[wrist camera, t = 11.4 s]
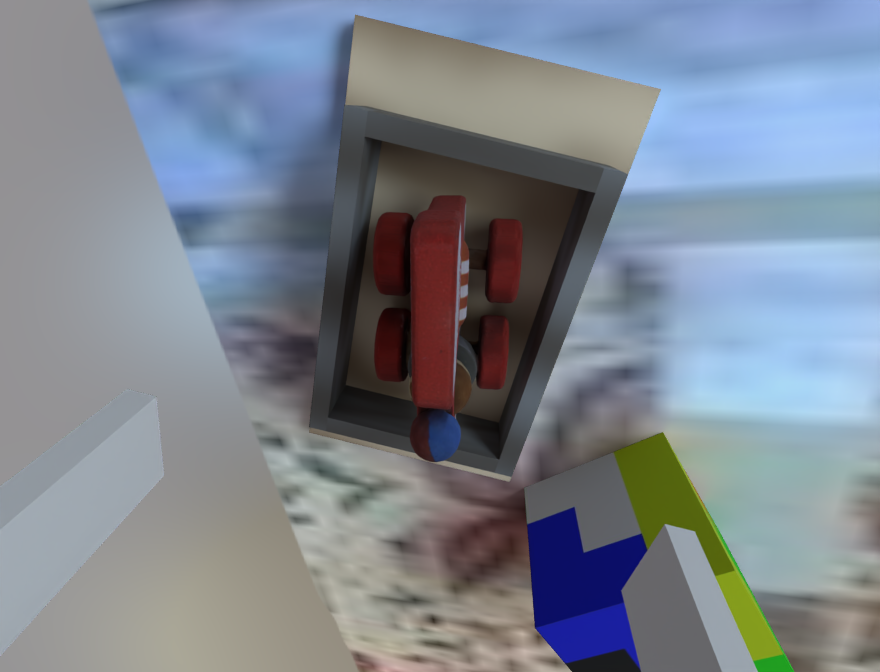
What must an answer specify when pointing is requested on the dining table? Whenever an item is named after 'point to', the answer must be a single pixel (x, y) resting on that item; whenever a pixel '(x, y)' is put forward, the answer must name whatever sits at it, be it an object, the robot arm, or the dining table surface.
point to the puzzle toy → (622, 555)
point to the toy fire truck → (442, 314)
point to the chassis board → (467, 218)
